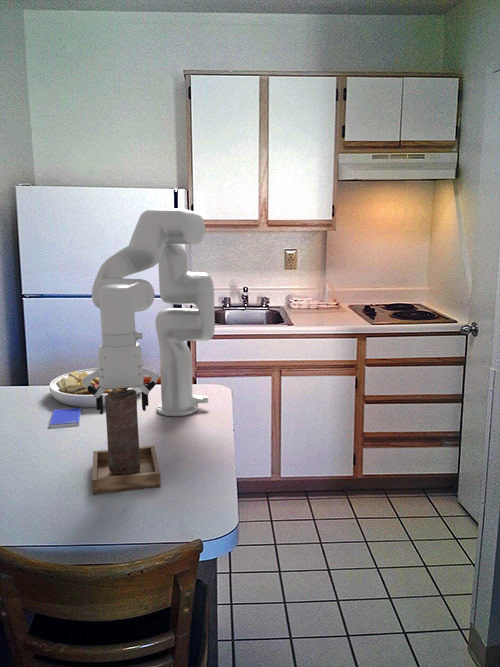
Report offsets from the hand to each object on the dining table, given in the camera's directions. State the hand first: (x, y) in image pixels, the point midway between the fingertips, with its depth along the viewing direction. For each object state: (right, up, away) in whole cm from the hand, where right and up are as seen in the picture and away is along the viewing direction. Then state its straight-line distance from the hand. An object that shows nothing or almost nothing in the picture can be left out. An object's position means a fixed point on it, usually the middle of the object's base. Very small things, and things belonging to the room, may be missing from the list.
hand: (123, 410), depth 145 cm
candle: (0, -15, +3) cm, 16 cm away
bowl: (-21, -3, +62) cm, 65 cm away
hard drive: (-25, -8, +40) cm, 48 cm away
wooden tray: (0, -16, +3) cm, 16 cm away
